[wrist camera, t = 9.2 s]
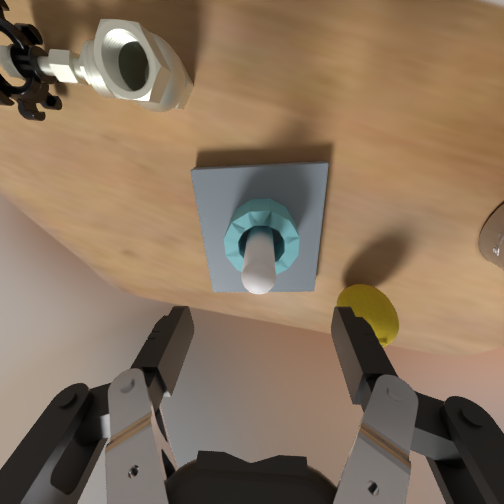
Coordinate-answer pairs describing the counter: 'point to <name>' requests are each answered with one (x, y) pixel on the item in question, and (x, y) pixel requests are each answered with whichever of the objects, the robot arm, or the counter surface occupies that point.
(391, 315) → the lemon
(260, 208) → the collar
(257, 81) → the counter surface
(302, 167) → the post stand
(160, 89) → the valve
